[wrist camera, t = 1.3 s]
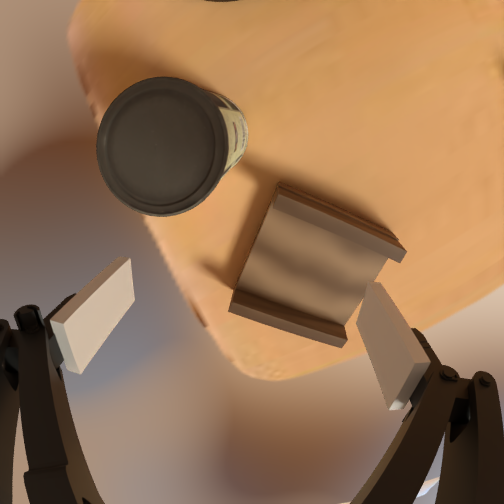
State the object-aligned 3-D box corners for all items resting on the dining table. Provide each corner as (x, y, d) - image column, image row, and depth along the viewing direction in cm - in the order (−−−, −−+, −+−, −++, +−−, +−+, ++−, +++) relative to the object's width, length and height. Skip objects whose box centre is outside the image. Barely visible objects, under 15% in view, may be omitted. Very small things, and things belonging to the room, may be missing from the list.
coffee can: (147, 122, 31) (76, 131, 18) (221, 76, 28) (182, 48, 15) (188, 193, 34) (138, 239, 22) (264, 153, 31) (255, 175, 19)
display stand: (279, 181, 33) (279, 192, 28) (393, 233, 34) (407, 250, 29) (233, 290, 40) (227, 312, 35) (335, 325, 41) (340, 349, 36)
